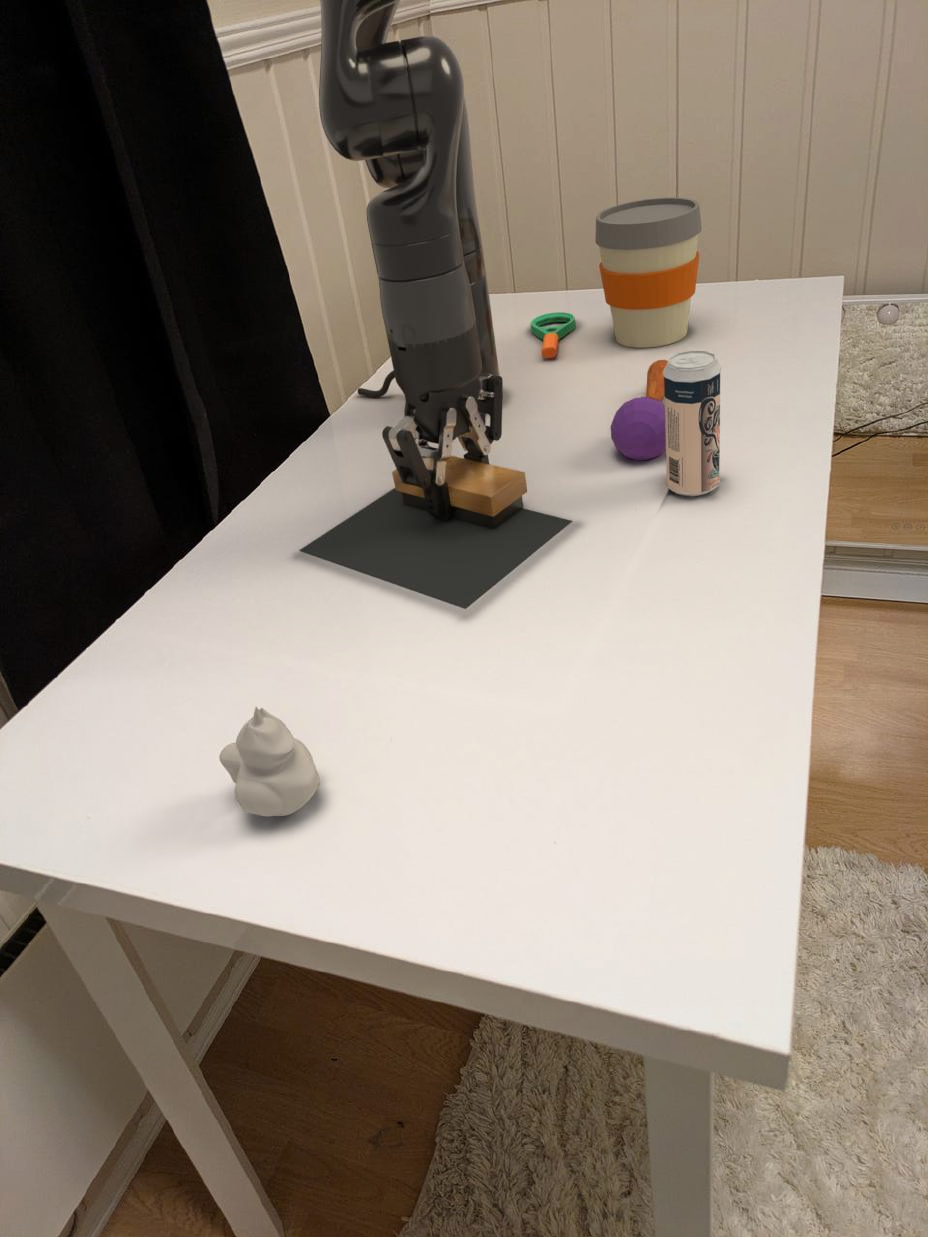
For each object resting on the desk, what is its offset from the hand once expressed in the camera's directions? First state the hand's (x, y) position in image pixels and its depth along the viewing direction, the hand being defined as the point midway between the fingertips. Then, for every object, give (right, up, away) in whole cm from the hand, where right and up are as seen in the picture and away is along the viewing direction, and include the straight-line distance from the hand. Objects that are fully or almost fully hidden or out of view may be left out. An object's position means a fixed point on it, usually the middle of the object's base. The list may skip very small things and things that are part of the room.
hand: (461, 503), depth 85 cm
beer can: (+21, +1, -2) cm, 21 cm away
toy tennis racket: (+12, +26, +36) cm, 46 cm away
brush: (0, 0, 0) cm, 0 cm away
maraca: (+20, +9, +9) cm, 24 cm away
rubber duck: (-11, -22, -27) cm, 37 cm away
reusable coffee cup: (+24, +25, +31) cm, 47 cm away
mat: (-2, -4, -3) cm, 6 cm away
